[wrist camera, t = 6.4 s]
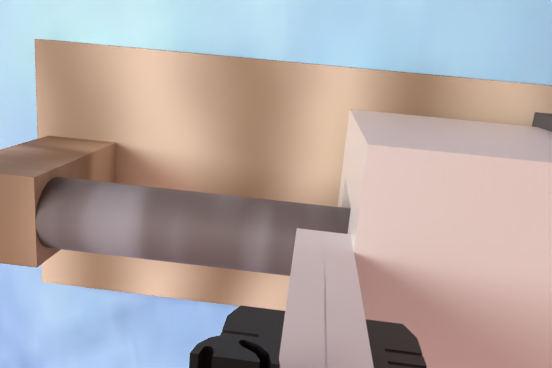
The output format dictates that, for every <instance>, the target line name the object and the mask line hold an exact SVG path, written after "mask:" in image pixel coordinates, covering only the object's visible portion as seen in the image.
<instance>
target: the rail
mask: <svg viewBox="0 0 552 368" xmlns="http://www.w3.org/2000/svg"><path fill="white" fill-rule="evenodd" d="M35 66H36V99H37V131H38V139H35V140H32V141H29V142H25V143H22V144H18V145H15V146H12V147H8V148H5V149H1V150H0V263H3V264H12V265H20V266H28V267H38V266H40V265H41V264H42V282H46V283H55V284H63V285H71V286H79V287H87V288H96V289H104V290H112V291H120V292H129V293H137V294H145V295H153V296H162V297H170V298H178V299H186V300H195V301H203V302H211V303H219V304H228V305H236V306H241V305H242V306H250V307H258V308H266V309H274V310H282V311H285V310H286V303H287V295H288V288H289V281H290V273H291V266H292V259H293V252H294V244H295V237H296V230H297V228H300V229H308V230H317V231H326V232H334V233H343V234H348V226H349V219H350V211H351V208H343V207H338V199H339V191H340V183H341V175H342V167H343V158H344V150H345V142H346V134H347V126H348V118H349V109H355V110H365V111H376V112H386V113H397V114H407V115H417V116H428V117H438V118H449V119H459V120H470V121H480V122H490V123H501V124H511V125H522V126H532V123H533V118H534V114H535V112H538V113H549V114H552V86H550V85H539V84H528V83H517V82H506V81H495V80H484V79H473V78H462V77H451V76H440V75H429V74H419V73H408V72H397V71H386V70H375V69H364V68H353V67H342V66H331V65H320V64H309V63H298V62H287V61H276V60H265V59H254V58H243V57H232V56H221V55H210V54H199V53H188V52H177V51H166V50H155V49H144V48H133V47H122V46H111V45H100V44H89V43H78V42H67V41H56V40H42V39H35Z"/></svg>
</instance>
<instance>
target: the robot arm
mask: <svg viewBox="0 0 552 368" xmlns="http://www.w3.org/2000/svg"><path fill="white" fill-rule="evenodd" d="M189 368H427V366H426V363H425V360H424V357H423V356H422V351H421V348H420V345H419V342H418V339H417V338H416V337H415V336H414V335H413V334H412V333H411V332H410V331H409V330H408V329H407V328H406V327H405V326H404V325H403V324H399V323H391V322H383V321H375V320H367V319H365V314H364V308H363V302H362V296H361V290H360V284H359V279H358V273H357V267H356V261H355V255H354V252H353V246H352V240H351V234H343V233H334V232H326V231H317V230H308V229H300V228H297V230H296V237H295V244H294V252H293V259H292V266H291V273H290V281H289V288H288V295H287V303H286V310H285V311H282V310H274V309H266V308H258V307H250V306H242V305H241V306H240V307H238V308H237V309H236V310H234V311H233V312H232V313H231V314H229V315H228V316H227V319H226V321H225V324H224V327H223V330H222V333H221V335H220V336H215V337H211V338H208V339H206V340H204V341H202V342H201V343H199V344H197V345H196V347H195V348H194V349H193V350H192V351H191V353H190V364H189Z"/></svg>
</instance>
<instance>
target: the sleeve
mask: <svg viewBox="0 0 552 368" xmlns="http://www.w3.org/2000/svg"><path fill="white" fill-rule="evenodd" d="M338 207H343V208H351V211H350V219H349V226H348V234H351V240H352V246H353V252H354V255H355V261H356V267H357V273H358V279H359V284H360V290H361V296H362V302H363V308H364V314H365V319H367V320H375V321H383V322H391V323H399V324H403V325H404V326H405V327H406V328H407V329H408V330H409V331H410V332H411V333H412V334H413V335H414V336H415V337H416V338H417V339H418V342H419V345H420V348H421V351H422V356H423V357H424V360H425V363H426V366H427V368H552V132H551V131H548V130H545V129H542V128H539V127H532V126H522V125H511V124H501V123H490V122H480V121H470V120H459V119H449V118H438V117H428V116H417V115H407V114H397V113H386V112H376V111H365V110H355V109H349V118H348V126H347V134H346V142H345V150H344V158H343V167H342V175H341V183H340V191H339V199H338Z"/></svg>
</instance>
